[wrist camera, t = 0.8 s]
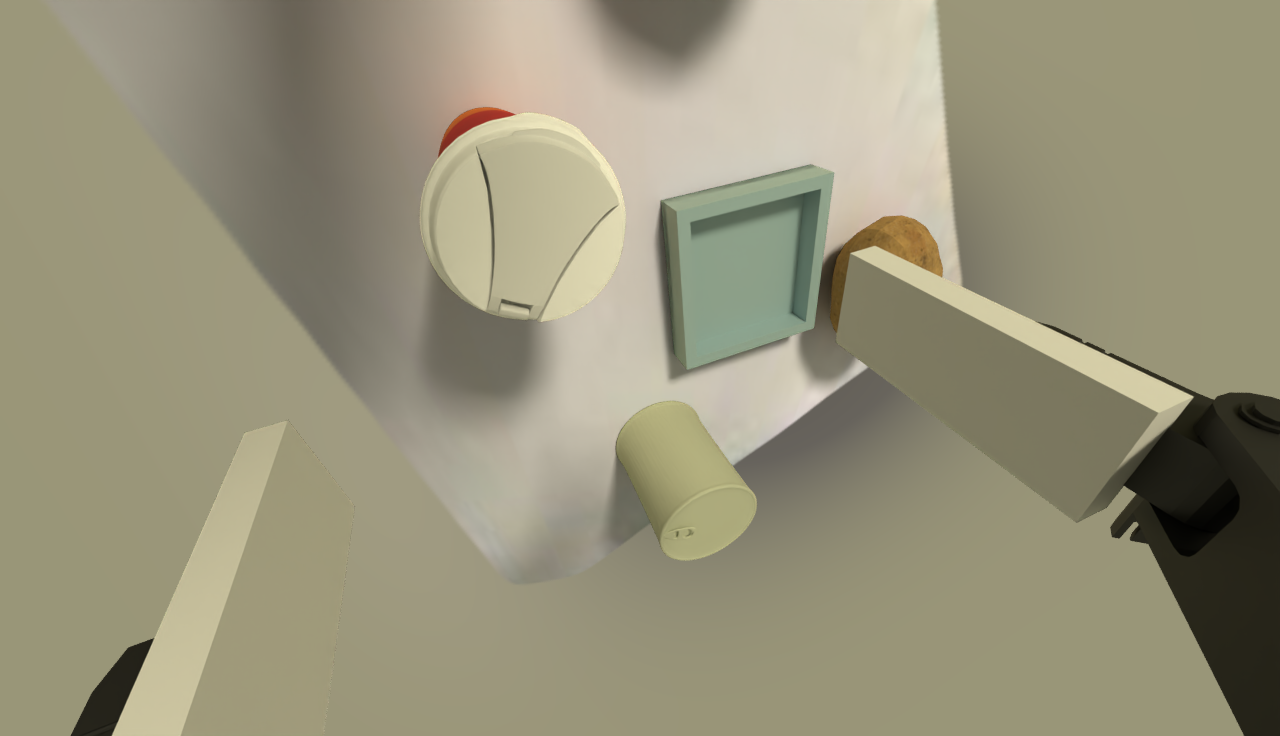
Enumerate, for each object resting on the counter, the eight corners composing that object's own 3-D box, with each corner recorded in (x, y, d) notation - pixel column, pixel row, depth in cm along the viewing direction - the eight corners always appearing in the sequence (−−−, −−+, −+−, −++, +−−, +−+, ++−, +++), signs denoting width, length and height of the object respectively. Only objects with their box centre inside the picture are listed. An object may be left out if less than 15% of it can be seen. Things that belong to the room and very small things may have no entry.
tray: (660, 200, 35) (676, 211, 33) (810, 164, 38) (834, 172, 36) (673, 353, 44) (686, 369, 42) (795, 314, 47) (813, 328, 44)
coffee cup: (536, 240, 34) (597, 348, 22) (408, 204, 30) (401, 313, 18) (574, 115, 30) (669, 167, 19) (435, 55, 26) (446, 73, 15)
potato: (899, 180, 42) (980, 205, 36) (889, 308, 51) (953, 346, 45) (804, 223, 41) (871, 257, 35) (811, 347, 50) (865, 391, 44)
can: (620, 406, 45) (671, 502, 36) (706, 395, 48) (773, 480, 39) (611, 476, 50) (654, 577, 41) (690, 461, 53) (746, 551, 44)
